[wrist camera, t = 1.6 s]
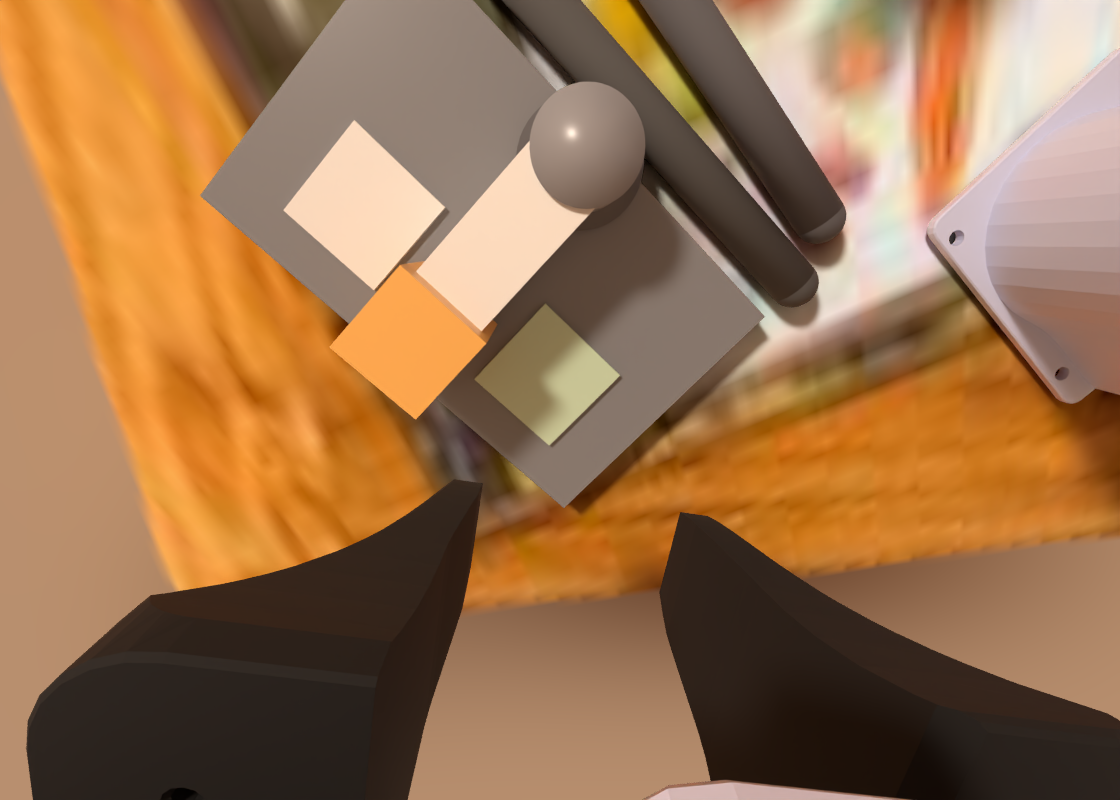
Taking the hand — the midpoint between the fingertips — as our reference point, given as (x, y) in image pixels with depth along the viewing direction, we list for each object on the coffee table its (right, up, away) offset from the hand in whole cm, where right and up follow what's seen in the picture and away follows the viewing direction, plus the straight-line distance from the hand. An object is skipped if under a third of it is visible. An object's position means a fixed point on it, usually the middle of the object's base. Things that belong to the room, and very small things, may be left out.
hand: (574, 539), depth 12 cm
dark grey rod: (+3, +12, +6) cm, 14 cm away
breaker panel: (-2, +8, +7) cm, 11 cm away
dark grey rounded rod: (+5, +13, +6) cm, 15 cm away
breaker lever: (-2, +8, +6) cm, 10 cm away
